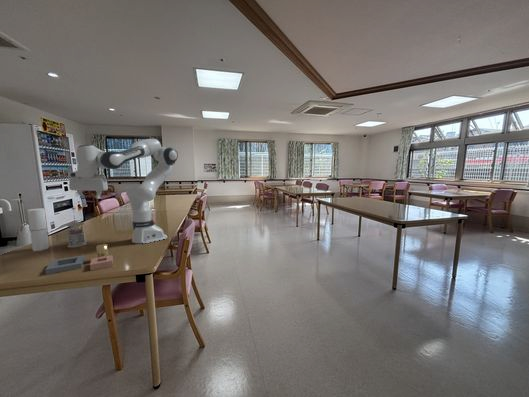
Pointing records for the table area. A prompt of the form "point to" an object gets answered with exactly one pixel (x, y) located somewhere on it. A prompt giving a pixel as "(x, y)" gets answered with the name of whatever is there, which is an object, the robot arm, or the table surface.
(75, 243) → the french press
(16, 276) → the table surface
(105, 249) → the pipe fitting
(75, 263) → the socket block
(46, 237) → the cylindrical container
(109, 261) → the small socket
